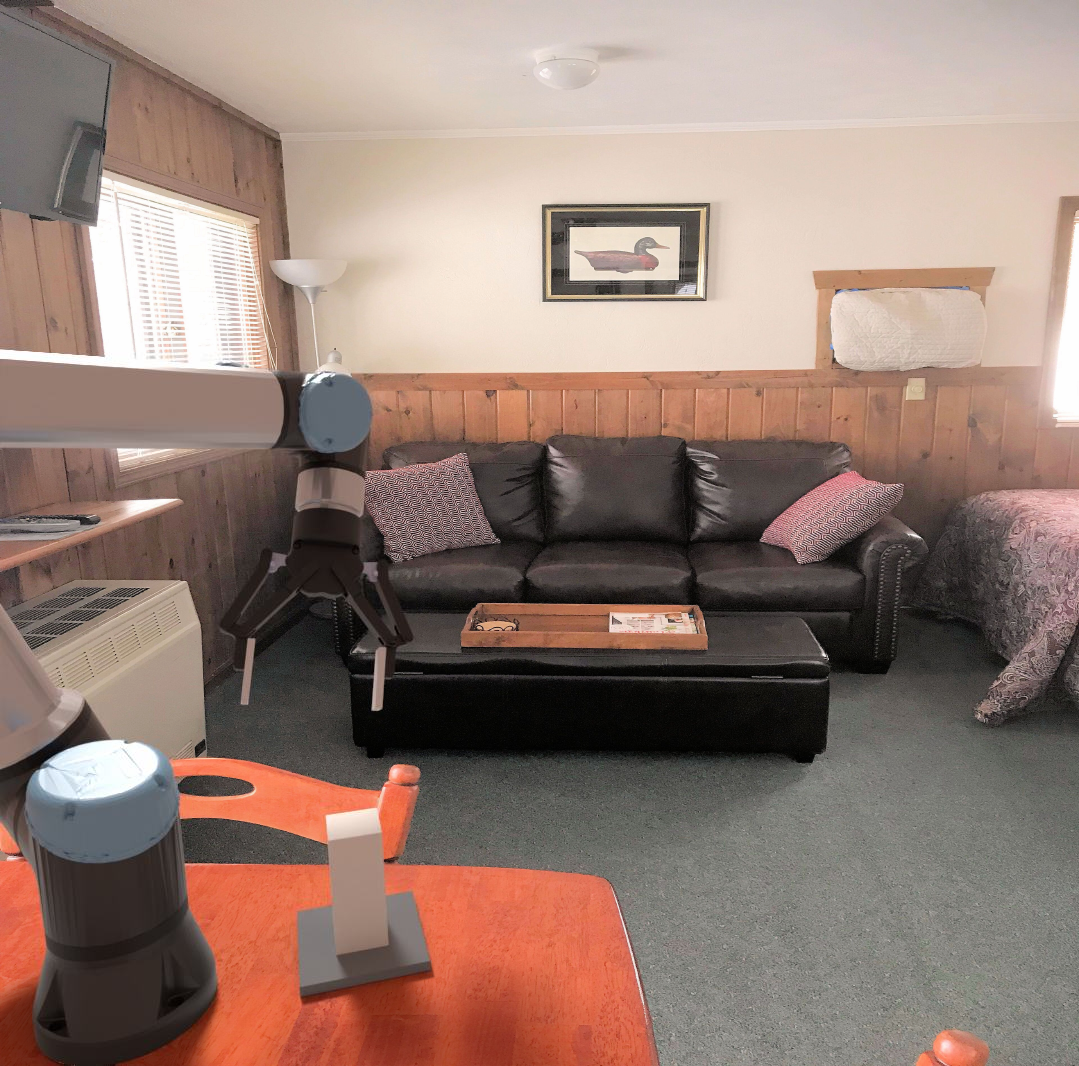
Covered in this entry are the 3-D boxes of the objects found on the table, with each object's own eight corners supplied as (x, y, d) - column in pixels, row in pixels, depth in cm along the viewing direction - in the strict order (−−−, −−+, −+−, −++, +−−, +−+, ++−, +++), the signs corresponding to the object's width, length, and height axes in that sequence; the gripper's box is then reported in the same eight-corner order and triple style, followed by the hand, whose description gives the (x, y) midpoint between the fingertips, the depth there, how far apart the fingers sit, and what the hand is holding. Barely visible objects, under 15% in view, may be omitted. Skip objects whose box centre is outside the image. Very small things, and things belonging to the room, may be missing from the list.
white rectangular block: (336, 955, 86) (327, 841, 83) (333, 924, 90) (325, 815, 88) (388, 945, 87) (381, 832, 85) (383, 915, 92) (376, 807, 89)
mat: (300, 997, 82) (299, 987, 81) (297, 920, 93) (296, 911, 93) (430, 970, 85) (430, 960, 85) (412, 899, 96) (412, 890, 96)
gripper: (431, 536, 107) (422, 715, 101) (212, 513, 100) (187, 704, 94) (444, 517, 101) (436, 708, 94) (210, 491, 93) (183, 696, 87)
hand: (312, 706), depth 94 cm, fingers open, 13 cm apart
